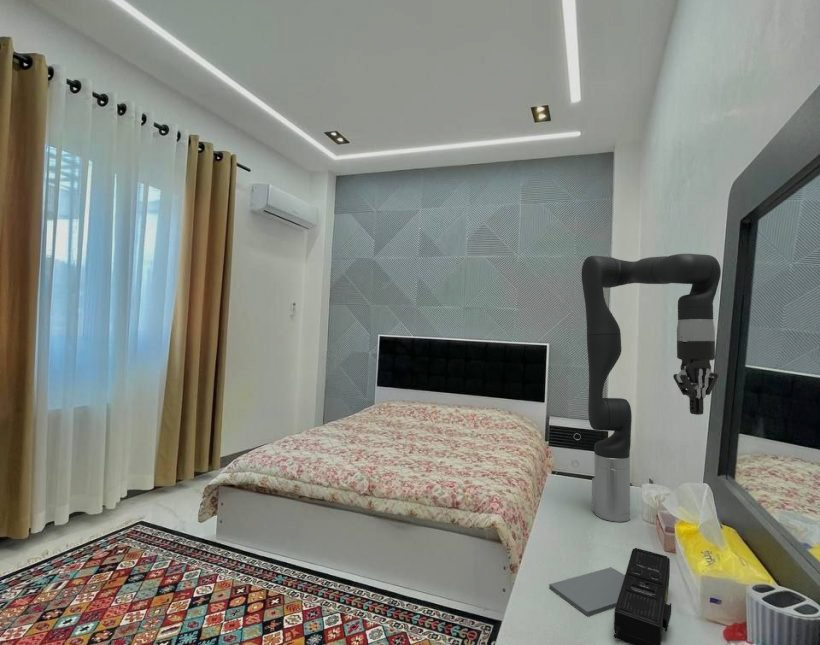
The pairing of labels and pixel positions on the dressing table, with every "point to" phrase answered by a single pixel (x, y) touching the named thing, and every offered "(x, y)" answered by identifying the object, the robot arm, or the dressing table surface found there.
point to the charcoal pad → (591, 590)
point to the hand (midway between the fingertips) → (696, 414)
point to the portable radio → (643, 599)
